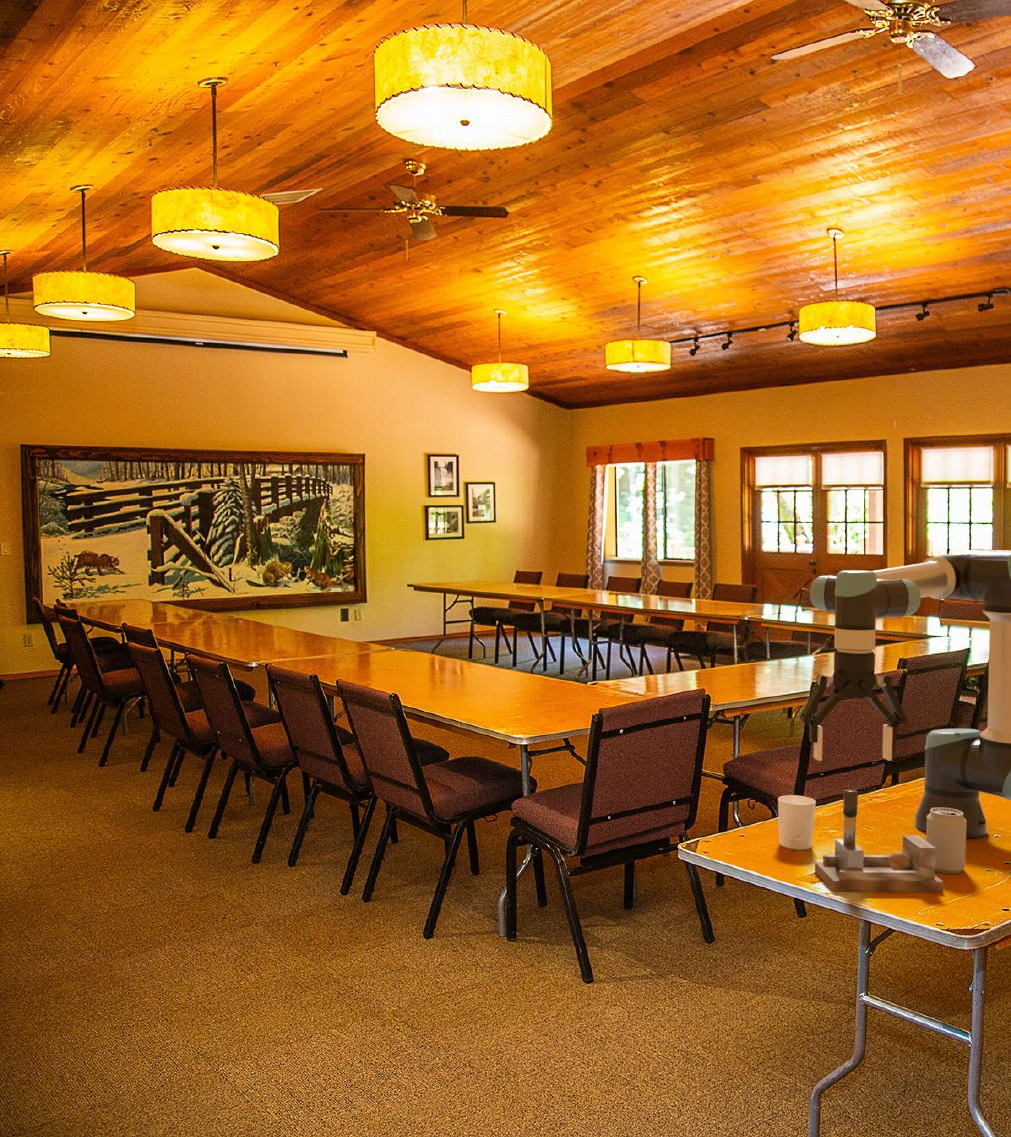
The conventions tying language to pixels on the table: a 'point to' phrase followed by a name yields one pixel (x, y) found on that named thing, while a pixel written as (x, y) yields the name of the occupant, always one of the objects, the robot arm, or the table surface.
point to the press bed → (886, 871)
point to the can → (947, 839)
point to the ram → (849, 836)
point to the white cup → (796, 821)
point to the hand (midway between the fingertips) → (852, 759)
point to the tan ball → (899, 861)
